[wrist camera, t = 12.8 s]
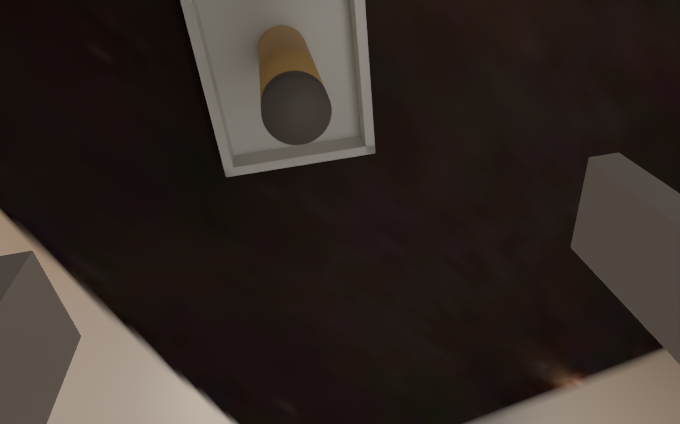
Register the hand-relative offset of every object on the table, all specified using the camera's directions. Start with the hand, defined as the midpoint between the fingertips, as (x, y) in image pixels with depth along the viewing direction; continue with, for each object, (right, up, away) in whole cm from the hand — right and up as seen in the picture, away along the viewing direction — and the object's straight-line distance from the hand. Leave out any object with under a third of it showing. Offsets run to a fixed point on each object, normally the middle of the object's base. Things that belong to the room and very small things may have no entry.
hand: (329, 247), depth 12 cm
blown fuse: (-3, +11, +18) cm, 21 cm away
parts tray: (-3, +11, +18) cm, 22 cm away
